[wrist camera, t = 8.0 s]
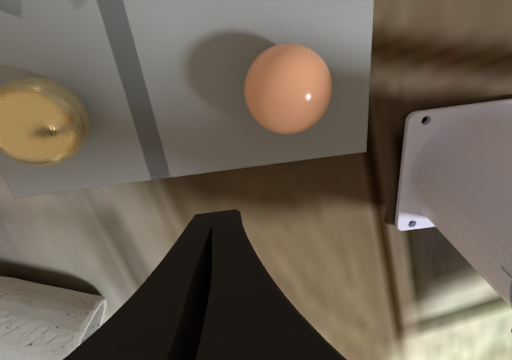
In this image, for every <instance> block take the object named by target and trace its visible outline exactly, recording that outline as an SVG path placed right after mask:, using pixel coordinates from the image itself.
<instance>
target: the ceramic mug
mask: <svg viewBox="0 0 512 360" xmlns="http://www.w3.org/2000/svg"><path fill="white" fill-rule="evenodd" d="M106 306H107V300H106V298H105V297H102V296H98V295H93V294H88V293H83V292H78V291H74V290H69V289H64V288H59V287H54V286H49V285H44V284H39V283H34V282H30V281H25V280H21V279H16V278H11V277H2V276H0V360H63V359H64V358H65V357H67V356H68V355H69V354H70V353H71V352H72V351H74V350H75V349H76V348H77V347H78V346H79V345H80V344H81V343H83V342H84V341H85V340H86V339H87V338H88V337H89V336H91V335H92V334H93V333H94V332H95V331H96V330H97V329H98V328H100V327H101V324H102V321H103V318H104V315H105V311H106Z"/></svg>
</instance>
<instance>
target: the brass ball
mask: <svg viewBox="0 0 512 360" xmlns="http://www.w3.org/2000/svg"><path fill="white" fill-rule="evenodd" d="M89 130H90V121H89V116H88V113H87V110H86V108H85V106H84V104H83V103H82V101H81V100H80V99H79V98H78V96H77V95H76V94H75V93H73V92H72V91H71V90H70V89H68V88H67V87H65V86H64V85H62V84H60V83H58V82H55V81H52V80H49V79H45V78H40V77H24V78H19V79H15V80H12V81H10V82H7V83H5V84H4V85H2V86H1V87H0V150H1V151H2V152H3V153H4V154H6V155H7V156H8V157H10V158H12V159H14V160H16V161H18V162H21V163H24V164H28V165H33V166H51V165H56V164H60V163H63V162H65V161H67V160H69V159H71V158H72V157H74V156H75V155H76V154H77V153H78V152H79V151H80V150H81V149H82V148H83V146H84V145H85V143H86V141H87V139H88V136H89Z"/></svg>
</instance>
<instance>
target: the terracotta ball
mask: <svg viewBox="0 0 512 360" xmlns="http://www.w3.org/2000/svg"><path fill="white" fill-rule="evenodd" d="M244 96H245V101H246V104H247V107H248V109H249V111H250V113H251V115H252V116H253V118H254V119H255V120H256V121H257V122H258V123H259V124H260V125H261V126H263V127H264V128H266V129H268V130H270V131H272V132H275V133H280V134H294V133H299V132H302V131H304V130H307V129H308V128H310V127H312V126H313V125H314V124H316V123H317V122H318V121H319V120H320V119H321V117H322V116H323V115H324V113H325V112H326V110H327V108H328V106H329V103H330V100H331V96H332V79H331V75H330V72H329V69H328V67H327V65H326V63H325V62H324V60H323V59H322V58H321V57H320V56H319V55H318V54H317V53H316V52H315V51H313V50H312V49H310V48H309V47H306V46H304V45H301V44H296V43H282V44H278V45H275V46H272V47H270V48H268V49H266V50H265V51H263V52H262V53H261V54H260V55H259V56H258V57H257V58H256V59H255V60H254V61H253V63H252V64H251V66H250V68H249V70H248V72H247V75H246V78H245V84H244Z"/></svg>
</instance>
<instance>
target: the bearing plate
mask: <svg viewBox="0 0 512 360" xmlns="http://www.w3.org/2000/svg"><path fill="white" fill-rule="evenodd" d="M373 1H374V0H0V87H1V86H2V85H4V84H5V83H7V82H10V81H12V80H15V79H19V78H24V77H40V78H45V79H49V80H52V81H55V82H58V83H60V84H62V85H64V86H65V87H67V88H68V89H70V90H71V91H72V92H73V93H75V94H76V95H77V96H78V98H79V99H80V100H81V101H82V103H83V104H84V106H85V108H86V110H87V113H88V116H89V121H90V130H89V136H88V139H87V141H86V143H85V145H84V146H83V148H82V149H81V150H80V151H79V152H78V153H77V154H76V155H75V156H74V157H72V158H71V159H69V160H67V161H65V162H63V163H60V164H56V165H51V166H33V165H28V164H24V163H21V162H18V161H16V160H14V159H12V158H10V157H8V156H7V155H6V154H4V153H3V152H2V151H1V150H0V172H1V174H2V175H3V177H4V179H5V181H6V183H7V185H8V186H9V188H10V190H11V192H12V194H13V196H14V197H15V198H18V197H25V196H33V195H41V194H48V193H56V192H63V191H71V190H79V189H86V188H94V187H102V186H109V185H117V184H124V183H132V182H140V181H147V180H155V179H163V178H170V177H178V176H185V175H193V174H201V173H208V172H216V171H223V170H231V169H239V168H246V167H254V166H262V165H269V164H277V163H284V162H292V161H300V160H307V159H315V158H323V157H330V156H338V155H345V154H353V153H361V152H366V149H367V128H368V107H369V86H370V65H371V44H372V22H373ZM282 43H296V44H301V45H304V46H306V47H309V48H310V49H312V50H313V51H315V52H316V53H317V54H318V55H319V56H320V57H321V58H322V59H323V60H324V62H325V63H326V65H327V67H328V69H329V72H330V75H331V79H332V96H331V100H330V103H329V106H328V108H327V110H326V112H325V113H324V115H323V116H322V117H321V119H320V120H319V121H318V122H317V123H316V124H314V125H313V126H312V127H310V128H308V129H307V130H304V131H302V132H299V133H294V134H280V133H275V132H272V131H270V130H268V129H266V128H264V127H263V126H261V125H260V124H259V123H258V122H257V121H256V120H255V119H254V118H253V116H252V115H251V113H250V111H249V109H248V107H247V104H246V101H245V96H244V84H245V78H246V75H247V72H248V70H249V68H250V66H251V64H252V63H253V61H254V60H255V59H256V58H257V57H258V56H259V55H260V54H261V53H262V52H263V51H265V50H266V49H268V48H270V47H272V46H275V45H278V44H282Z"/></svg>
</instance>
